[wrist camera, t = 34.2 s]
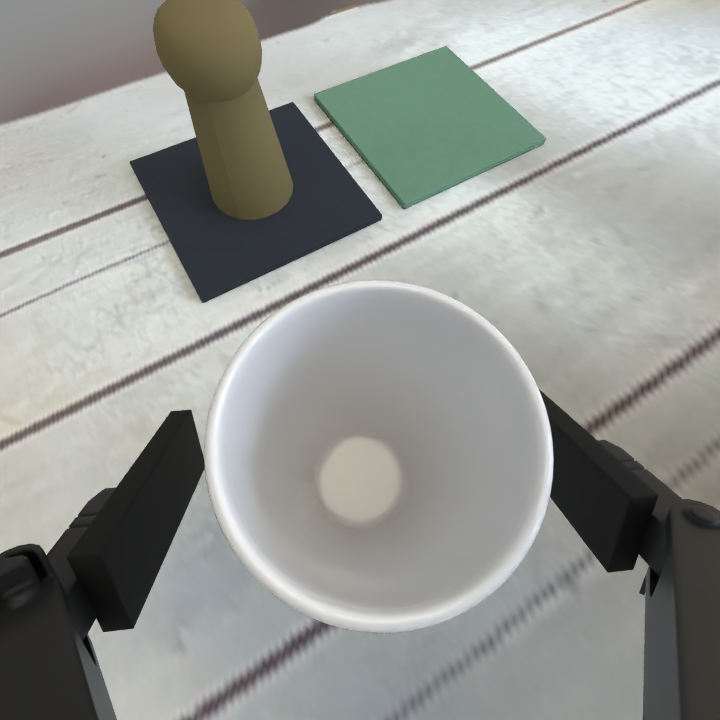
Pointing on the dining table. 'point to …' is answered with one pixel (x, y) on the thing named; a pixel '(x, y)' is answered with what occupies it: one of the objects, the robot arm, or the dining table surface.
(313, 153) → the slate mat
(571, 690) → the dining table surface
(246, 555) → the drinking glass
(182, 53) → the olive game pawn
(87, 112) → the dining table surface
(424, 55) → the sage mat
